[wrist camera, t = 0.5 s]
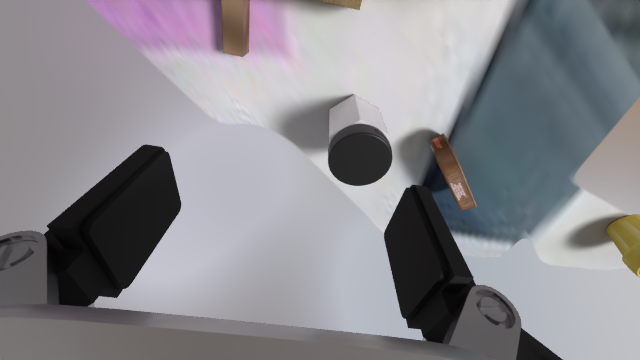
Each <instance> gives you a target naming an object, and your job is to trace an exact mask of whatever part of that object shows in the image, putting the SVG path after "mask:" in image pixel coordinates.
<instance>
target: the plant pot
mask: <svg viewBox="0 0 640 360" xmlns="http://www.w3.org/2000/svg"><path fill="white" fill-rule="evenodd" d="M606 232H607V233H608V235H609V236H610V238H611V239H612V241H613V242H614V243H615V245H616V246H617V248H618V249H619V251H620V252H621V254H622V255H623V258H622V260H623V262H624V263H625V264H626V265H627V266H628V268H629V269H631V271H633V272H634V273H635V274H636V275H637V276H638V277H640V215H629V216H625V217H622V218H620V219H618V220H616V221H614V222H612V223H611V224H610V225H609V226H608V227H607V229H606Z"/></svg>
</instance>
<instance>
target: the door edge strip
mask: <svg viewBox="0 0 640 360" xmlns="http://www.w3.org/2000/svg"><path fill="white" fill-rule="evenodd" d="M249 1H250V0H221V7H222V30H223V53H227V54H231V55H236V56H240V57H243V56H245V55H246V54H247V53H248V52H249Z"/></svg>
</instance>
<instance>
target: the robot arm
mask: <svg viewBox="0 0 640 360" xmlns="http://www.w3.org/2000/svg"><path fill="white" fill-rule="evenodd" d="M180 209H181V200H180V196H179V192H178V188H177V184H176V180H175V176H174V172H173V168H172V163H171V159H170V155H169V153H168V152H166V151H165V150H164V148H162V147H158V146H152V145H143V146H141V147H140V148H139V149H138V150H137V151H135V152H134V153H133V154H132V155H131V156H129V157H128V158H127V159H126V160H125V161H123V162H122V163H121V164H120V165H119V166H117V167H116V168H115V169H114V170H113V171H112V172H110V173H109V174H108V175H107V176H106V177H104V178H103V179H102V180H101V181H100V182H99V183H97V184H96V185H95V186H94V187H93V188H91V189H90V190H89V191H88V192H87V193H85V194H84V195H83V196H82V197H81V198H79V199H78V200H77V201H76V202H75V203H73V204H72V205H71V206H70V207H69V208H67V209H66V210H65V211H64V212H63V213H62V214H60V215H59V216H58V217H57V218H56V219H54V220H53V221H52V222H51V223H50V224H48V225H47V227H48V228H49V230H48V231H47V232H46V233H45V234H44V235H43V234H42V233H40V232H36V231H19V232H14V233H9V234H6V235H3V236H0V360H562V359H561V358H560V357H558V356H557V355H556V354H554V353H553V352H552V351H551V350H549V349H548V348H547V347H545V346H544V345H543V344H541V343H540V342H539V341H538V340H536V339H535V338H534V337H532V336H531V335H530V334H528V333H527V332H526V331H524V330H523V329H522V328H521V319H520V316H519V314H518V312H517V310H516V308H515V307H514V305H513V304H512V303H511V302H510V301H509V300H508V299H507V298H506V297H505V296H504V295H503V294H501V293H500V292H499V291H497V290H495V289H493V288H491V287H488V286H485V285H476V284H475V283H474V280H473V276H472V274H471V272H470V270H469V268H468V266H467V264H466V262H465V260H464V258H463V256H462V254H461V252H460V250H459V248H458V246H457V244H456V242H455V240H454V238H453V236H452V234H451V232H450V230H449V228H448V226H447V224H446V222H445V220H444V218H443V216H442V214H441V212H440V210H439V208H438V206H437V204H436V202H435V200H434V198H433V196H432V194H431V192H430V190H429V189H428V187H424V186H418V185H412V186H411V187H410V188H406V189H405V191H404V193H403V195H402V197H401V199H400V201H399V203H398V205H397V207H396V209H395V211H394V214H393V216H392V218H391V220H390V222H389V224H388V226H387V228H386V230H385V233H384V239H385V244H386V248H387V252H388V257H389V262H390V266H391V271H392V275H393V279H394V283H395V289H396V293H397V297H398V302H399V307H400V311H401V314H402V317H403V318H405V319H406V321H407V325H408V328H414V329H421V331H422V335H423V337H424V338H423V340H422V341H421V340H413V339H404V338H397V337H388V336H381V335H370V334H362V333H352V332H343V331H333V330H323V329H314V328H304V327H294V326H285V325H274V324H264V323H254V322H245V321H235V320H224V319H214V318H204V317H194V316H183V315H173V314H162V313H151V312H141V311H130V310H120V309H108V308H95V307H94V302H95V300H96V299H97V298H98V296H104V297H114V298H117V297H118V296H119V294H120V293H121V291H122V290H123V289H126V288H127V287H129V286H130V284H131V283H132V282H133V280H134V279H135V277H136V276H137V274H138V273H139V271H140V270H141V268H142V266H143V265H144V264H145V262H146V261H147V259H148V258H149V256H150V255H151V253H152V252H153V250H154V249H155V247H156V246H157V244H158V243H159V241H160V240H161V238H162V237H163V235H164V234H165V232H166V231H167V229H168V228H169V226H170V225H171V223H172V222H173V220H174V219H175V218H176V216H177V215H178V213H179V211H180Z"/></svg>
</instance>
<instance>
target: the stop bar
mask: <svg viewBox="0 0 640 360" xmlns="http://www.w3.org/2000/svg"><path fill="white" fill-rule="evenodd" d="M319 1H324V2H328V3H332V4H336V5H340V6H344V7H348V8H353V9H357V10H360V6H361V1H362V0H319Z"/></svg>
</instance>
